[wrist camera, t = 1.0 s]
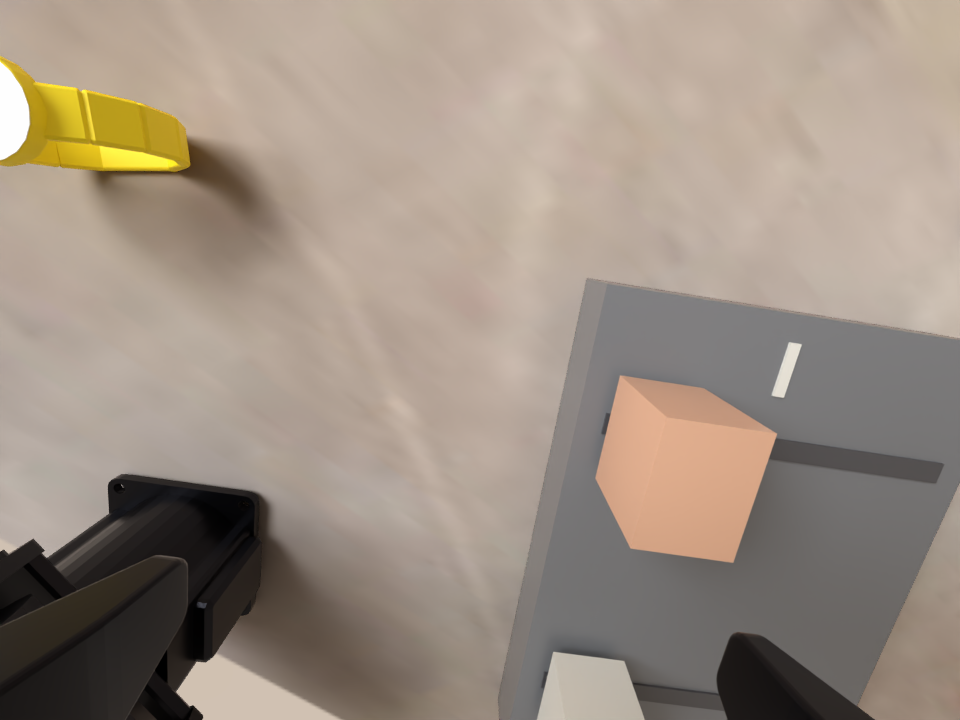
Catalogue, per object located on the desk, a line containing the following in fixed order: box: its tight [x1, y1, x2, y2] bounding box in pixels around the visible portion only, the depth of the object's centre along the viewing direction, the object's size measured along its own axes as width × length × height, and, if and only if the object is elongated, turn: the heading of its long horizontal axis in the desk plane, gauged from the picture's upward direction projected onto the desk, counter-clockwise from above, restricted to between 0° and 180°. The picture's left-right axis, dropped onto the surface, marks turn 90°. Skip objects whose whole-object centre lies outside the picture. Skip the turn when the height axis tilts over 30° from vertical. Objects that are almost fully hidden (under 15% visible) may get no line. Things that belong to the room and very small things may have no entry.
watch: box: [0, 56, 191, 172], centre depth 14 cm, size 6×3×6 cm, turn 90°
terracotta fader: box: [595, 375, 777, 563], centre depth 14 cm, size 3×4×4 cm
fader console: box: [498, 278, 960, 720], centre depth 20 cm, size 15×22×3 cm
